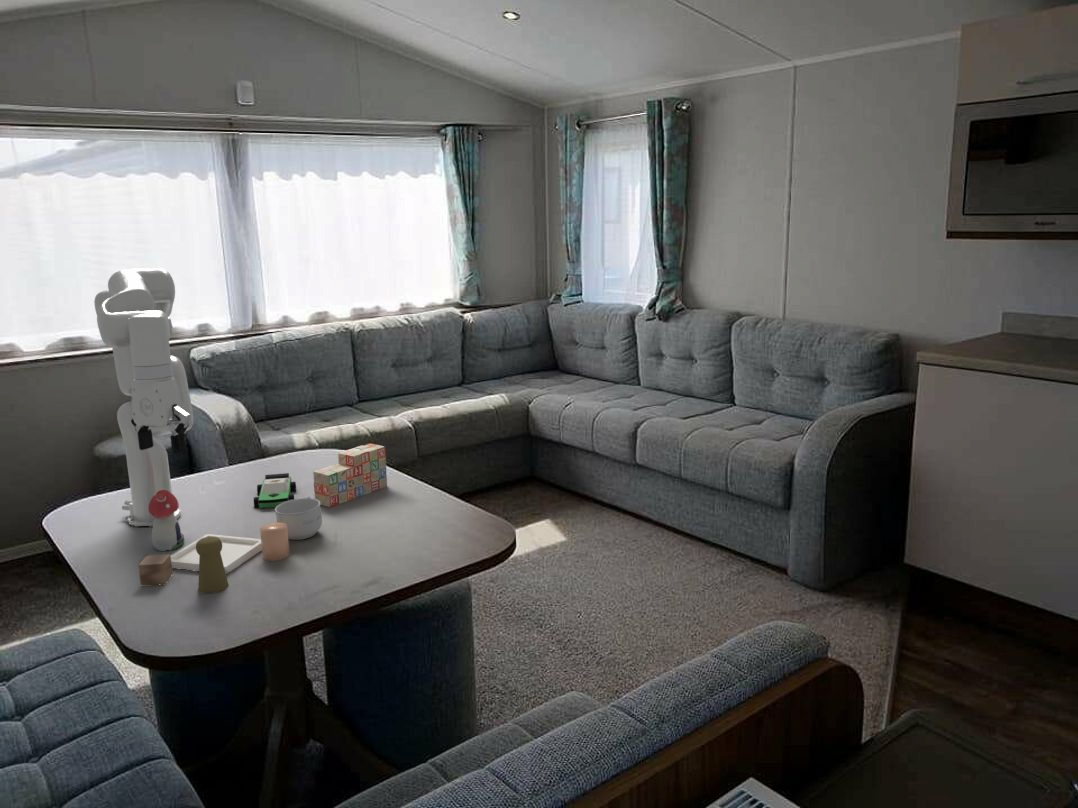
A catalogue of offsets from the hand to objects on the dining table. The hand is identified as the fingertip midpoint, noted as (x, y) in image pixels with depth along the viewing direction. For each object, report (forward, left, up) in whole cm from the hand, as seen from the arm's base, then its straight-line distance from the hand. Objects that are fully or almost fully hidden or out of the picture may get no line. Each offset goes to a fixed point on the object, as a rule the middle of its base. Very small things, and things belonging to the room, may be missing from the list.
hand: (162, 450), depth 182 cm
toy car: (-4, +48, -28) cm, 56 cm away
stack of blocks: (+16, +54, -28) cm, 63 cm away
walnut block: (0, -6, -28) cm, 28 cm away
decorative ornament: (-10, +11, -28) cm, 31 cm away
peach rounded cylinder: (+18, +12, -28) cm, 35 cm away
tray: (+5, +8, -28) cm, 29 cm away
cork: (+14, -6, -28) cm, 32 cm away
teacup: (+17, +26, -28) cm, 41 cm away
